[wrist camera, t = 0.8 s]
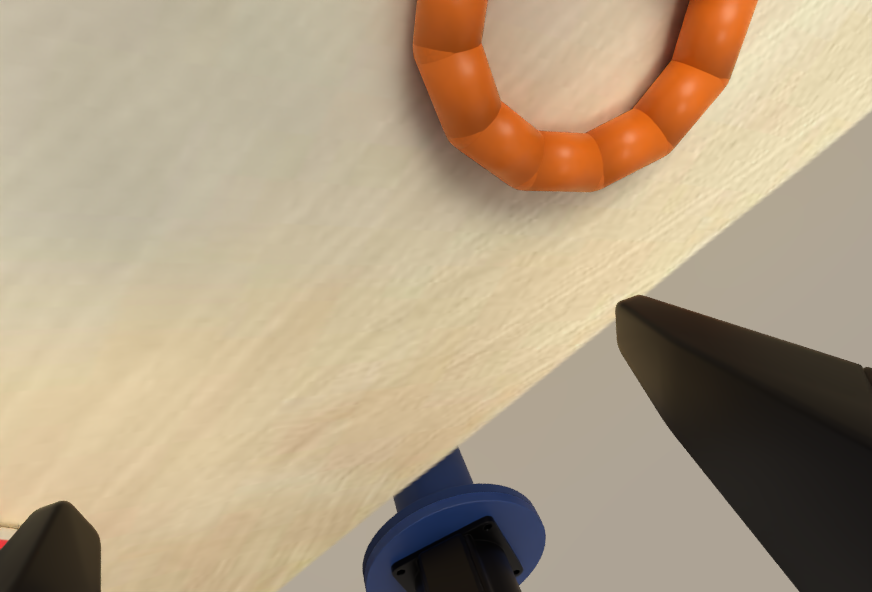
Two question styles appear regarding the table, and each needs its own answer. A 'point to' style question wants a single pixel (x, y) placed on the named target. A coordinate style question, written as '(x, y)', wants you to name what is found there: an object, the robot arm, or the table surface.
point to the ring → (560, 151)
